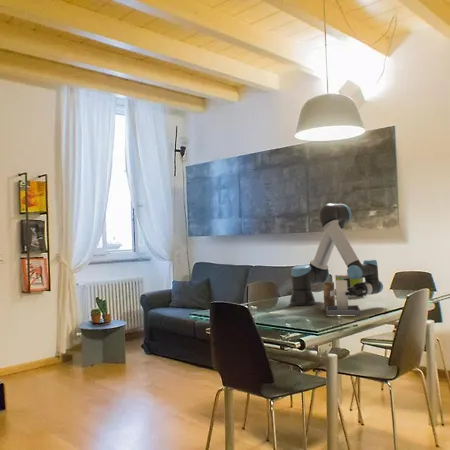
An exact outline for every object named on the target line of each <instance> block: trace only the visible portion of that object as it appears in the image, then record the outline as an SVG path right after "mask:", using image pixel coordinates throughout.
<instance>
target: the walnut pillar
mask: <svg viewBox="0 0 450 450" xmlns="http://www.w3.org/2000/svg"><path fill="white" fill-rule="evenodd" d="M322 287H323V288H322V289H323V304H324V305H323V307H324V308H325V309H326V306H336V298H335V297H336V295H335V296H330V291H333V290H335V281H326V282H323V283H322ZM325 309H324V310H325Z"/></svg>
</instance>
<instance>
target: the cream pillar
mask: <svg viewBox="0 0 450 450" xmlns="http://www.w3.org/2000/svg"><path fill="white" fill-rule="evenodd" d="M335 289H336V295H335V297H336V298H335V302H336V306H337V309H338V310H348V305H349V298H348V296H345V297H340V292H342V291H348V289H347V280H337V281H336V280H335Z"/></svg>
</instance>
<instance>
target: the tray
mask: <svg viewBox="0 0 450 450" xmlns="http://www.w3.org/2000/svg"><path fill="white" fill-rule="evenodd" d="M325 311H326V312H327V313H326V312H325V313H326V316H327V315H355V316H354V317H361V316H362V314H361V309H360V307H359V305H358V304H357V305H354V304H353V305H349V304H348V310H338V309H337V305H335V306H326V310H325Z"/></svg>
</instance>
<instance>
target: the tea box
mask: <svg viewBox="0 0 450 450" xmlns="http://www.w3.org/2000/svg"><path fill="white" fill-rule="evenodd" d="M334 276H335V277H334V278H335V282H336V281H337V280H347V288H350V287H353V286H354V285H355V284H356V283H361V282H364V278H360V279H351V278H350V277H349V276H348V275H347V273H343V274H335V275H334ZM357 297H358V296H353V295H352V296H350V295H349V296H348V299H349V298H357Z"/></svg>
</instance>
